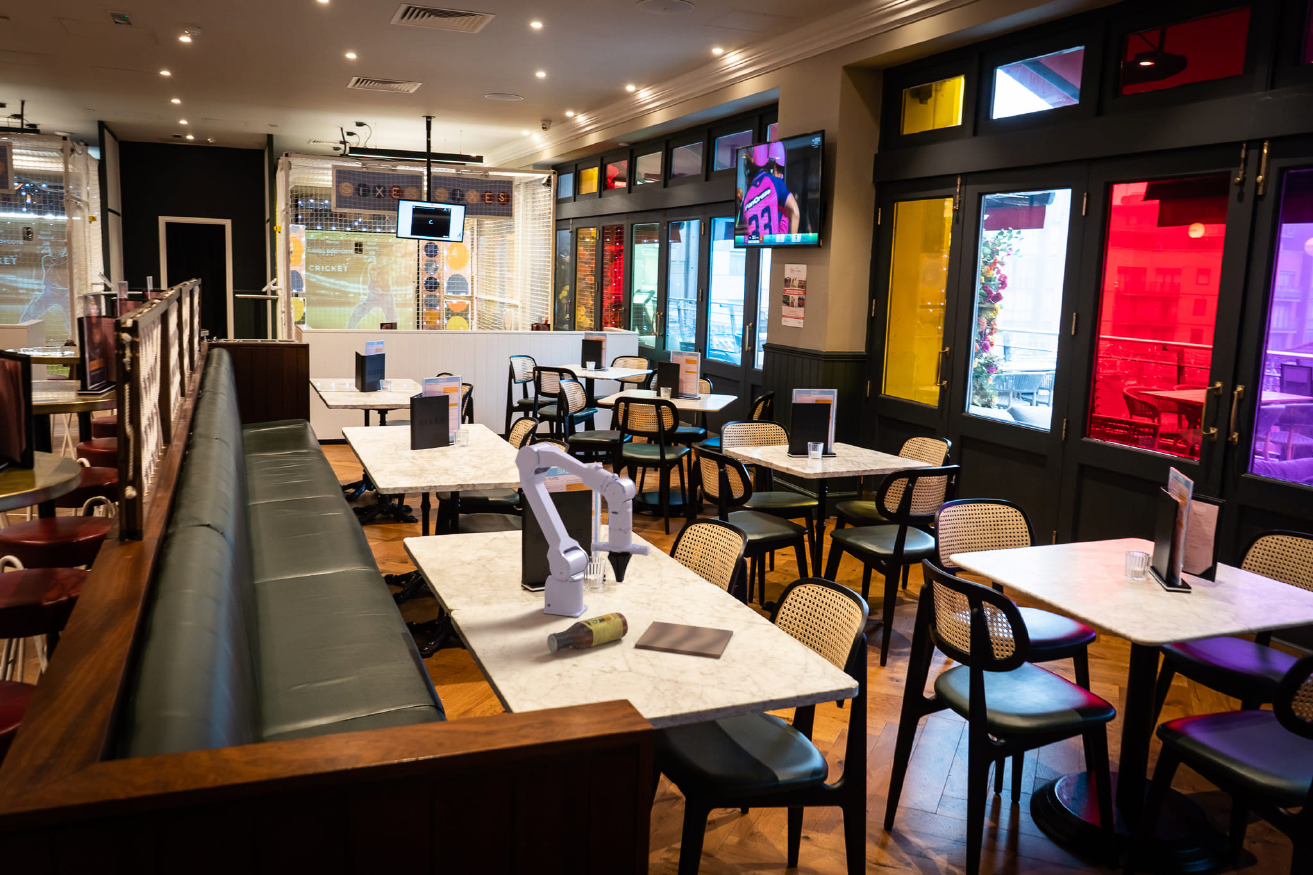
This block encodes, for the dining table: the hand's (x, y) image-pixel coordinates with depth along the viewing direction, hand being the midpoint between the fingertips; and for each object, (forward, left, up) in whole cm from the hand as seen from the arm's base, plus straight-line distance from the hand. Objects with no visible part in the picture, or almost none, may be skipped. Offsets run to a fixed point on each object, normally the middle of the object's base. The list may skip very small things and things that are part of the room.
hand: (619, 581), depth 231 cm
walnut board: (+19, -7, -10) cm, 22 cm away
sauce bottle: (+3, -9, -8) cm, 12 cm away
